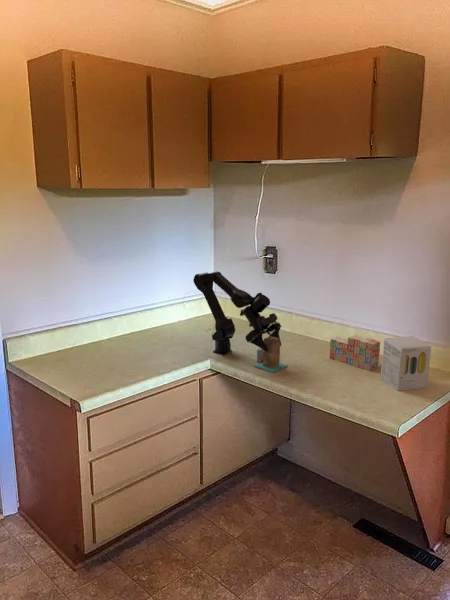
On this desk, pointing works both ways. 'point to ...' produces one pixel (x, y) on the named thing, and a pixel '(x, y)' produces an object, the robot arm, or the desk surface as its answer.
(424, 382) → the supplement box
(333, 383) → the desk surface
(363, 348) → the stack of blocks
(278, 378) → the desk surface
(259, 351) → the screen
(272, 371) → the mat
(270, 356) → the letter block
